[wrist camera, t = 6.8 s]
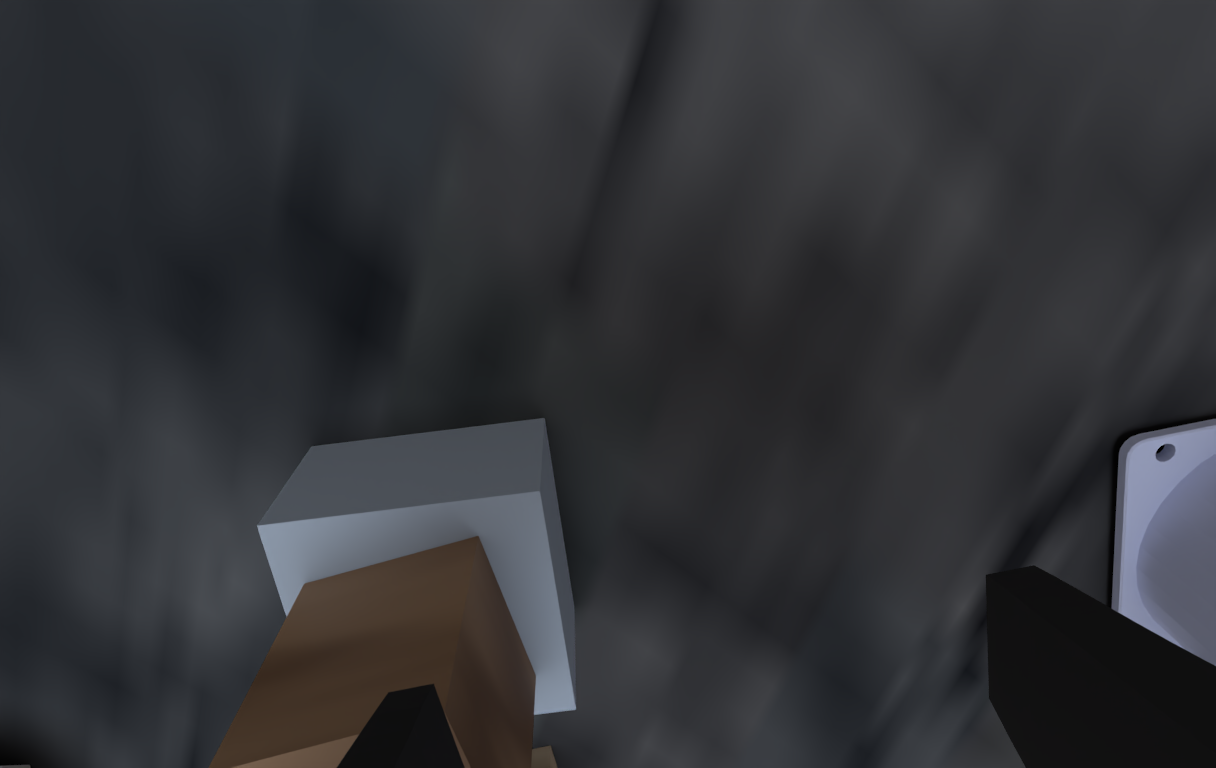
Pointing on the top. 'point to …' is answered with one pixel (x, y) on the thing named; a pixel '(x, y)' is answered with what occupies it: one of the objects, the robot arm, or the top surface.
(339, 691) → the walnut block
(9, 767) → the die
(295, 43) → the top surface
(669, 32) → the top surface
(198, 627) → the top surface
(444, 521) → the base block
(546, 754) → the maple block
